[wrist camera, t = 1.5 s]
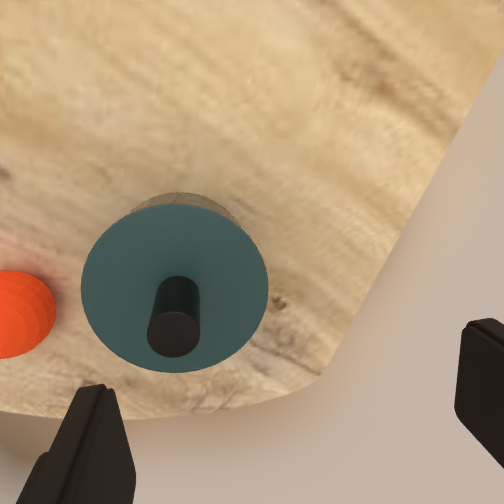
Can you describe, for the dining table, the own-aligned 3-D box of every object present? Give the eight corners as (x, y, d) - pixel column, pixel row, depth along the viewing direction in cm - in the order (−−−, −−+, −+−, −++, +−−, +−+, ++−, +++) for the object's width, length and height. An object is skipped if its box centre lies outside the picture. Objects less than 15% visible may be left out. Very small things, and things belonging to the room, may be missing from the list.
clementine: (-47, 280, 31) (-113, 321, 25) (16, 233, 31) (-34, 261, 24) (26, 343, 34) (-16, 395, 27) (84, 301, 33) (56, 343, 27)
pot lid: (98, 370, 28) (69, 439, 22) (72, 203, 24) (28, 228, 18) (264, 356, 30) (282, 416, 24) (266, 198, 26) (289, 219, 20)
